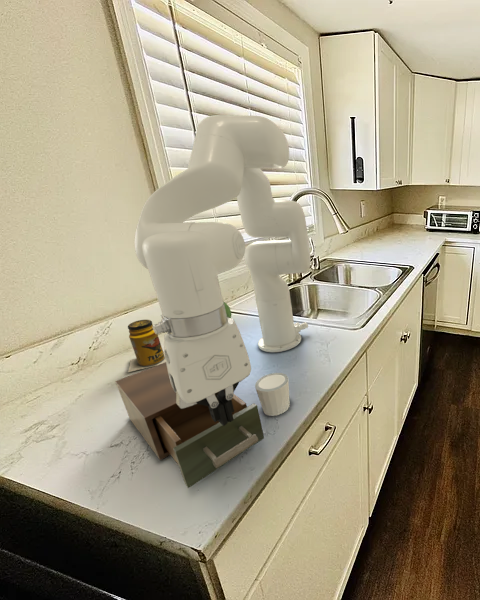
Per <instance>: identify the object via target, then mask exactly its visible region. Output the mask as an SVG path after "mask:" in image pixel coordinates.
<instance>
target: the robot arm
mask: <svg viewBox="0 0 480 600" xmlns="http://www.w3.org/2000/svg"><path fill="white" fill-rule="evenodd" d="M289 161H290V147H289V142H288V139H287V137H286V134H285V132H283V130H282V129H281V128H280V126H278V125H277V124H276V123H275V122H274V121H272V120H271V119H269V118H267V117H265V116H261V115H239V114H237V115H235V114H216V115H210V116H209V115H208V116H206V117H204V118H203V119H202V120H201V121H200V122H199V123H198V125H197V128H196V132H195V137H194V140H193V144H192V149H191V153H190V157H189V161H188V165H187V169H185V170H183V171H182V172H180V173H178V174H176V175H174V177H172V178H171V179H169V180H168V181H166V182H165V183H164V184H162V185H161V186H160V187H158V188H157V189H156V190H155V191H153V193H151V194H150V195H149V196H148V198H147V199H146V201H145V202H144V204H143V206H142V209H141V211H140V214H139V217H138V222H137V224H136V229H135V233H134V240H133V241H134V242H133V243H134V245H133V246H134V253H135V256H136V258H137V260H138V262H139V263H140V264H141V265H142V266H143V268H145V269H146V270H148V273H149V277H150V280H151V283H152V286H153V289H154V292H155V295H156V298H157V302H158V305H159V309H160V312H161V314H160V317H161V319H160V321H158V322H157V323H155V324H153V325H152V327H153V330H154V332H155V334H164V335H163V346H164V347H163V348H164V350H163V351H164V352H165V358H166V364H167V369H168V374H169V378H170V382H171V385H172V387H173V390H174V391H175V392H176V404H177V405H178V406H179V407H180V408H186V407H190V406H193V405H195V404H200V405H205V406H208V407H209V411H210V414H211V417H212V419H213V420H214V421H215V422H216V421H219V422H220V423H221V424H222V425H223V426H225V425H226V424H227V423H228V422H231V421H233V420H234V419H233V415H232V412H234V408H233V404H232V400H231V399H232V398H233V396H234V394H235V393H234V392H235V391H236V389H237V387H238V386H239V384H240V383H241V382H242V381H244V380H245V379H247V378H248V377H249V376H250V374H251V372H252V364H251V360H250V357H249V354H248V350H247V347H246V344H245V342H244V339H243V337H242V334H241V331H240V329H239V327H238V325H237V323H236V321H235V319H233V318H232V317H231V318H229V317H227V315H226V310H225V306H224V302H225V301H224V299H223V294H222V289H221V285H220V281H219V276H218V275H220V274H222V273H226V272H227V271H230V270H232V269H235V268H236V267H237V266H239V265H240V263H241V262H242V260H243V259H244V263H245V265H246V269H247V271H248V274H249V277H250V280H251V284H252V288H253V291H254V292H253V293H254V298H255V303H256V309H257V314H258V320H259V326H260V331H261V336H262V337H260V339H259V340H258V343H257V345H258V349H259V350H261V351H263V352H266V353H281V352H285V351H289V350H291V349H294V348H295V347H297V346H298V345H299V344H300V343H301V342H302V335H301V333H300V332H301V331H303V330H305V329H307V328H309V324H308V322H307V321H305V322H302V323H300V322H299V321H298V322H295V321H294V315H293V308H292V307H293V306H292V301H291V293H290V287H289V284H288V283H287V282H286V281H285V280H284V278H282V276H281V275H295V274H303V273H304V274H305V273H306V272H308V271H309V270H310V268H311V264H312V260H311V249H310V242H309V236H308V227H307V222H306V216H305V212H304V209H303V207H302V205H301V204H300V203H299V202H297V201H295V200H286V199H285V200H275V199H274V197H273V192H272V187H271V182H270V179H269V178H268V176H267V175H266V173H264V171H263V170H262V169H283V168H285V167H286V166H287V164H288V163H289ZM235 199H236V201H237V206H238V210H239V214H240V218H241V219H240V220H241V223H242V226H243V229H244V231H245V233H246V234H247V235H248V236H249V237H251V238H260V239H261V238H262V239H263V238H264V239H265V238H266V239H267V238H269V239H270V238H288V239H286V240H285V239H283V240H282V239H281V240H278V239H277V240H259V241H254V242H251V243H249V244H248V245H246V242H245V239H244V236H243V234H242V233H241V231H240V230H239V229H238V227H236V226H234V225H232V224H230V223H228V222H222V221H203V222H202V221H201V222H197V221H196V222H195V221H190V222H187V220H189V219H190V218H193V217H194V216H196V215H198V214H200V213H203V212H206V211H209V210H212V209H215V208H218V207H220V206H222V205H224V204H227V203H229V202H232V201H233V200H235ZM223 301H224V302H223ZM217 392H218V395H216V396H217V397H216V396H215V393H217Z"/></svg>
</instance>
